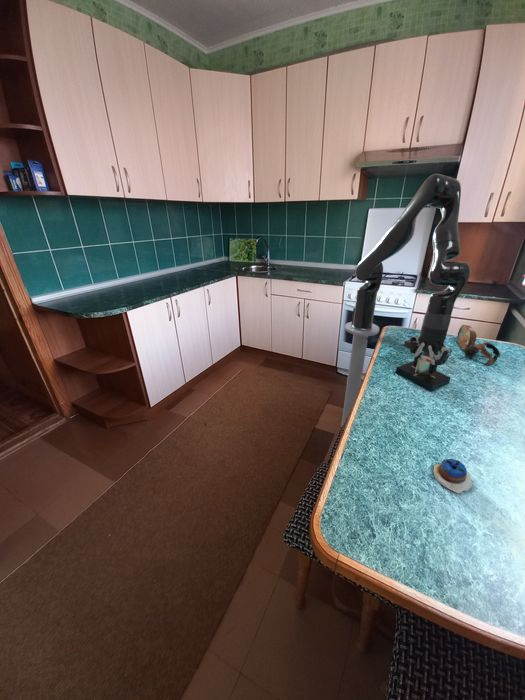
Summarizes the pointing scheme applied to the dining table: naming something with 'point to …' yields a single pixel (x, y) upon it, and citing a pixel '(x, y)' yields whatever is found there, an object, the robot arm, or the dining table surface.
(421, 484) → the dining table surface
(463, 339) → the tin
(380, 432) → the dining table surface
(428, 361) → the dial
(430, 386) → the control box
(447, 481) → the dessert
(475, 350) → the brown black curved band
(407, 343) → the walnut box
